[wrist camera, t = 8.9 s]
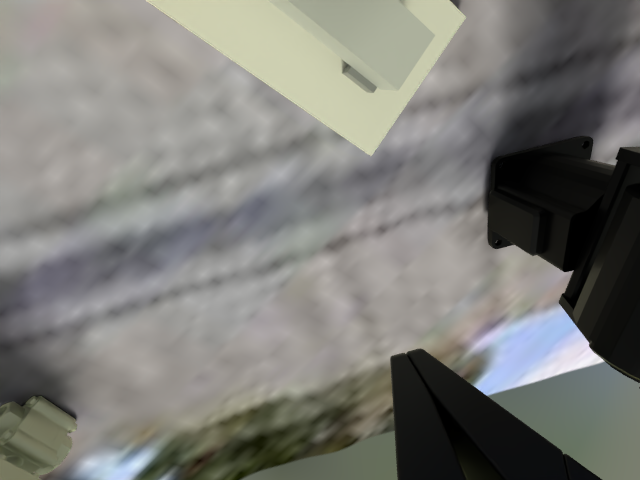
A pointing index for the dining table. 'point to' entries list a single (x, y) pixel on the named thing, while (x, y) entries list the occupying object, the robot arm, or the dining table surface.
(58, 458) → the pneumatic valve
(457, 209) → the dining table surface
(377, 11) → the pipe stand
